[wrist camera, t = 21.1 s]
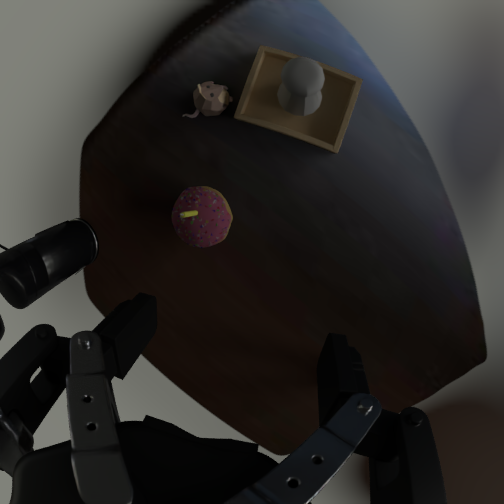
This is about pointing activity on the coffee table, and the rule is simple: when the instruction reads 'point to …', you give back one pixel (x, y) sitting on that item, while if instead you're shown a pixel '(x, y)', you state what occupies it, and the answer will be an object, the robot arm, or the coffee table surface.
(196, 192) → the cupcake
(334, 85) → the tray
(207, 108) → the mouse figurine
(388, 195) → the coffee table surface
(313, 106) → the salt shaker
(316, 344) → the coffee table surface
